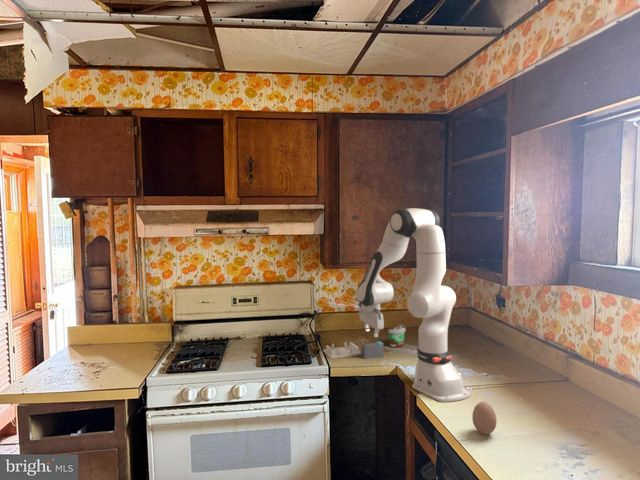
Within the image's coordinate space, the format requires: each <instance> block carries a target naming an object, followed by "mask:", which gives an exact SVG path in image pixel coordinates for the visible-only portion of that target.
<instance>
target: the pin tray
mask: <svg viewBox="0 0 640 480" xmlns="http://www.w3.org/2000/svg"><path fill="white" fill-rule="evenodd" d="M343 343H344V344H343V345H344V346H340V347H335V343H331V346H329V345H328V344H327V345H325V349H322V351H323V353H325V355H326V356H327V357H328V358H330V360H333V359H342V358H349V357H355V356H356V357H357V356H361V350H359V346H357V345H356V344H354V343H353V342H352V341H351V342H349V345H348V344H347V341H344V342H343Z"/></svg>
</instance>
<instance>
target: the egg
mask: <svg viewBox="0 0 640 480" xmlns="http://www.w3.org/2000/svg"><path fill="white" fill-rule="evenodd" d="M471 415H472V418H471V419H472V423H473V426H474V429H476V430H477V431H478V432H479V433H480V434H482V435H485V436H486V435H490V434H492V433H493V432H494V431H495V429H496V427H497V424H498V423H497V422H498V421H497V415H496V412H495V410H494V408H493V407H492V405H491V404H490V403H488V402H487V401H480V402H478V403H477V404H476V405H475V406H474V408H473V411H472V414H471Z"/></svg>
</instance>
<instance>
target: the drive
mask: <svg viewBox="0 0 640 480" xmlns="http://www.w3.org/2000/svg"><path fill="white" fill-rule="evenodd" d="M360 352H361V355H360V356H361V357H362V358H363V359H364V360H367V359H368V360H369V359H374V358H383V357H384V356H385V355H384V342H382V341H375V342H371V343H362V344H360Z"/></svg>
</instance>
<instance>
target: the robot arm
mask: <svg viewBox="0 0 640 480" xmlns="http://www.w3.org/2000/svg"><path fill="white" fill-rule="evenodd" d="M440 224H441V219H440V216H439V214H438V212H436V211H435V210H433V209H431V208H416V207H412V208H410V207H409V208H400V209H396V210H395V211H393V212H392V213H391V216H390V219H389V221H388V224H387V226H386V227H385V228H386V229H385V232H384V234H383V238H382V242H381V244H380V245H379V247H378V248H377V250H376V251H375V252H374V253H373V254H372V255H371V258H370V260H369V262H368V265H367V267H366V270H365V273H364V274H363V277H362V279H361V282H360V284H359V285H358V287H357V289H356V291H355V292H356V293H355V294H356V299H357V301H358V307H359V308H358V315H359V319H360V321H361V322H363V325H364V331H365V332H367V333H368V332H370V327H372V328H373V329H374V331H373V332H372V333H373V334H372V335H373V337H374V338H378V337H379V332H380V330H381V331H382V330H384V328H385V322H384V315H383V313H382V312H381V304H383V303H389V302H391V301H392V300H393V299H394V297H395V294H396V293H395V292H396V291H395V287H394V285H393V284H392V283H391V282H388V281H386V280H384V279H383V278H382V277H381V275H380V272H381V271H382V270H383V269H384V268H386V267H387V266H388V265H389V266H390V265H391V264H393V263H396V262H398V261H400V260H401V259H402V258H403V257H404V256H405V254H406V253H407V249H408V246H409V242H410V238H411V237H413V238H414V240H415V242H416V244H415V246H416V252H415V253H416V272H415V273H416V274H415V279H414V283H413V288H412V290H411V293H410V294H409V296H408V298H407V300H406V308H407V310H408V312H409V314H410V315H411V316H413V317H415V318H418V319H419V318H420V319H422V320H421V321H422V322H421V324H420V325H419V327H418V335H417V336H418V348H417V352H416V353H417V358H418V360H417V363H416V365H415V369H414V371H415V372H414V382H413V383H412V386H411V387H412V389H414V390H416V391H418V392H420V393H423V394H424V395H426V396H428V397H430V398H431V399H434V400H436V401H438V402H443V403H445V402H446V403H448V402H449V403H450V402H456V401H457V402H458V401H462V400H465V399H468V398H470V396H471V392H470V391H468V390H467V389H466V388H465V387H464V381H463V378H462V373H461V372H458V371H457V368H456V367H455V366H454V364H453V363H452V362H451V361H452V358H453V357H452V355H451V354H450V352H449V349H448V333H449V332H448V331H449V325H450V321H451V320H450V319H451V316H452V315H451V314H452V311H453V308H454V306H455V305H456V302H457V296H456V292H455V291H454V290H453V289H452V288H451V287H450V286H448V285H443V284H442V282H443V279H444V276H445V275H446V272H447V261H446V259H447V258H446V257H447V256H446V241H445V236H444V232H443V229H442V227H440Z"/></svg>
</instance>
